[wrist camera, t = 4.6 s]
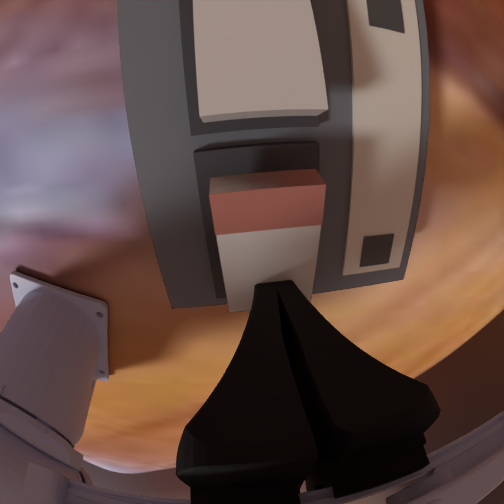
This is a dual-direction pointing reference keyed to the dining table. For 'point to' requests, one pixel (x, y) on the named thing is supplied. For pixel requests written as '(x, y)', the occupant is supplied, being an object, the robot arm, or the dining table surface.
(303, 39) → the rocker middle
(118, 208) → the dining table surface
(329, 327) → the robot arm
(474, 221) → the dining table surface
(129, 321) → the dining table surface
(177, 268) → the switch panel
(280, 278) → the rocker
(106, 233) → the dining table surface
